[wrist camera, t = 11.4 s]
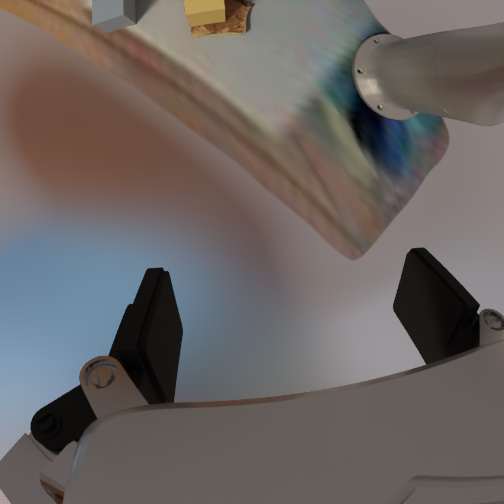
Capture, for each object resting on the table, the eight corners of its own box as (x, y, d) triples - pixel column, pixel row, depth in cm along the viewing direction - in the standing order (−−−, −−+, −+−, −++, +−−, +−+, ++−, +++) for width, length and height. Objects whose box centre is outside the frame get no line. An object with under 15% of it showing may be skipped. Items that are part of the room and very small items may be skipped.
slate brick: (107, -3, 22) (92, -13, 18) (135, -11, 22) (123, -24, 18) (108, 32, 25) (92, 25, 21) (136, 24, 25) (123, 14, 21)
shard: (190, -26, 22) (188, -32, 21) (249, -30, 23) (250, -36, 21) (190, 40, 28) (188, 37, 26) (252, 36, 28) (254, 33, 26)
